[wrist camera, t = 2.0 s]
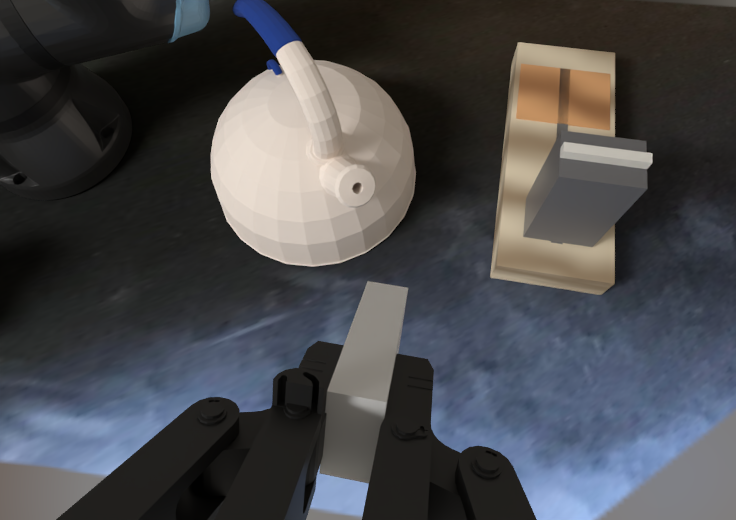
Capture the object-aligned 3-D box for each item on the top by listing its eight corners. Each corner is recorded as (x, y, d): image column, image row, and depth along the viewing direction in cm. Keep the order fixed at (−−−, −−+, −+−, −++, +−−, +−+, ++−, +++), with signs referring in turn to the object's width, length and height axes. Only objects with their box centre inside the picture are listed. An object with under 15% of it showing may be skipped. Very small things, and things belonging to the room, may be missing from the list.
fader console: (600, 294, 46) (615, 283, 43) (490, 277, 47) (496, 265, 44) (603, 73, 55) (615, 52, 52) (511, 63, 56) (518, 41, 53)
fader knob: (592, 247, 44) (653, 182, 34) (523, 236, 45) (562, 170, 35) (593, 207, 45) (651, 134, 35) (526, 197, 46) (564, 123, 36)
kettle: (273, 308, 46) (210, 220, 30) (188, 148, 54) (99, 4, 37) (456, 208, 50) (492, 77, 33) (353, 69, 57) (339, -95, 40)
